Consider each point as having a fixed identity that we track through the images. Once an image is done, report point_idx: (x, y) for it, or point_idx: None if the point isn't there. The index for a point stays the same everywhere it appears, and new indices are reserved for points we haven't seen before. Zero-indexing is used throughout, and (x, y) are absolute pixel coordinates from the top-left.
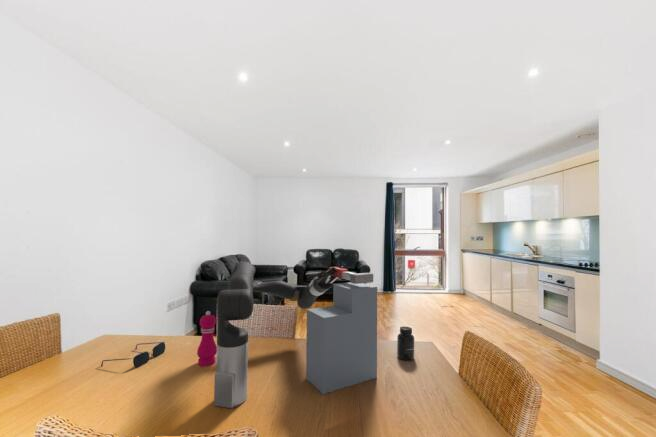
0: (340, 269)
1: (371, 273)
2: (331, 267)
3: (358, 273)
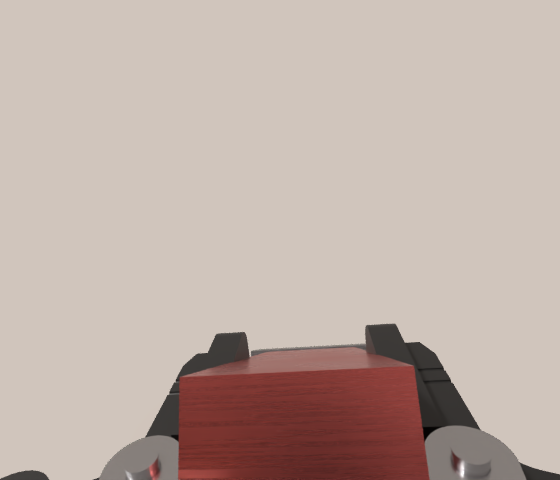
0: (342, 348)
1: (259, 349)
2: (357, 363)
3: (322, 347)
